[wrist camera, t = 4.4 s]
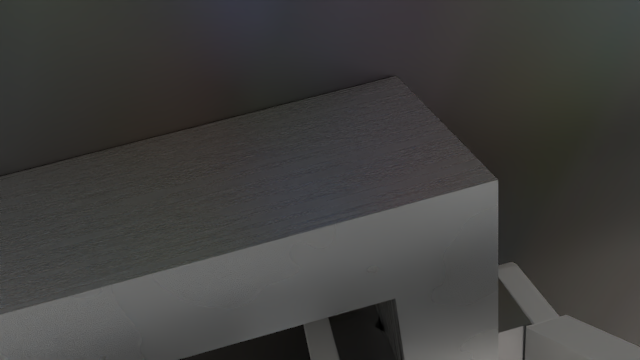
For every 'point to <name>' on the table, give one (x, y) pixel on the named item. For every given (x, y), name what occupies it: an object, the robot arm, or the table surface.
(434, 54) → the table surface
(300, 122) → the silver rectangular frame
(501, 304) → the robot arm
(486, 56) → the table surface
